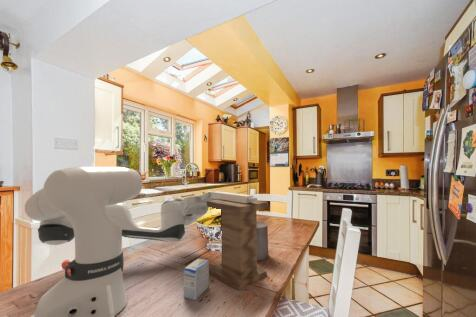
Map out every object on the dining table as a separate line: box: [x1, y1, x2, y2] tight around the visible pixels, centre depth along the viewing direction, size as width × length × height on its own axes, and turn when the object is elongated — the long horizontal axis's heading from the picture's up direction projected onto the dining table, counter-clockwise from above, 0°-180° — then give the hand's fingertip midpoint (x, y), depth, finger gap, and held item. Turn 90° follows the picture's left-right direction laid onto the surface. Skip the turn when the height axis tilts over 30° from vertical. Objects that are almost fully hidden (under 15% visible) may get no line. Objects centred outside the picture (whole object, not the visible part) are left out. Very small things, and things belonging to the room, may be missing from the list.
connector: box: [206, 190, 258, 203], centre depth 85 cm, size 4×26×2 cm, turn 43°
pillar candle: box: [257, 221, 269, 261], centre depth 97 cm, size 10×10×15 cm
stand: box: [207, 199, 269, 291], centre depth 81 cm, size 14×18×26 cm
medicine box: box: [183, 258, 210, 301], centre depth 69 cm, size 8×4×9 cm, turn 159°
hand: (214, 193), depth 92 cm, fingers closed on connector, 4 cm apart
